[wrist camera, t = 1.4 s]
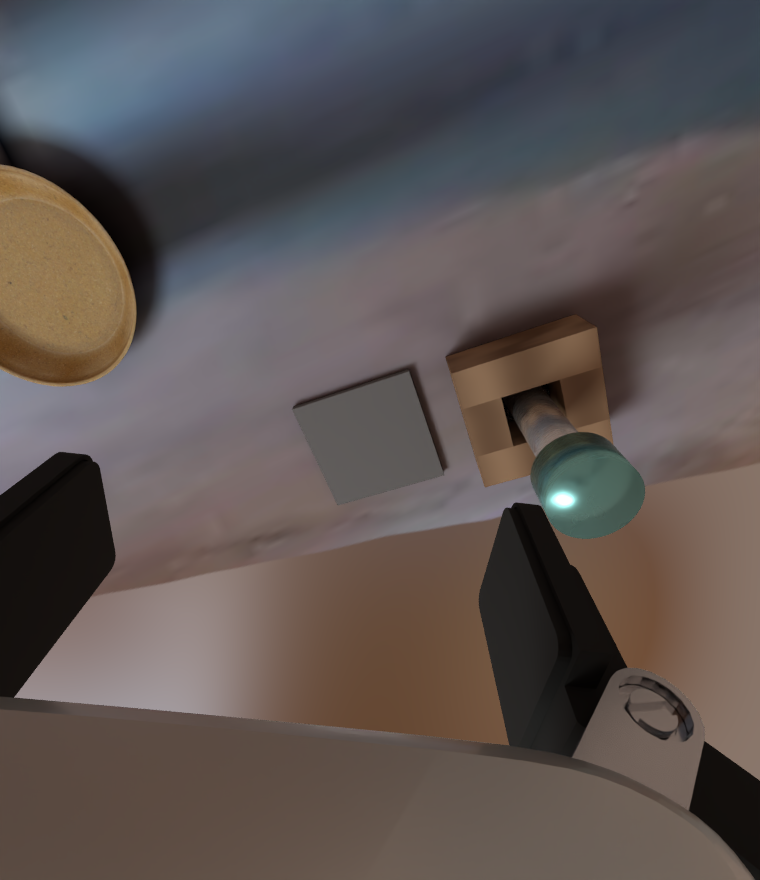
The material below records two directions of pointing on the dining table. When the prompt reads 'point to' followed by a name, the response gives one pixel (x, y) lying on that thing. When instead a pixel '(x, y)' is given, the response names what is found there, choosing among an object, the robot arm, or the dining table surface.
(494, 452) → the eye block
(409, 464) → the rubber pad
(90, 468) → the robot arm
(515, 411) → the teal capped rod
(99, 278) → the plant saucer
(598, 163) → the dining table surface
